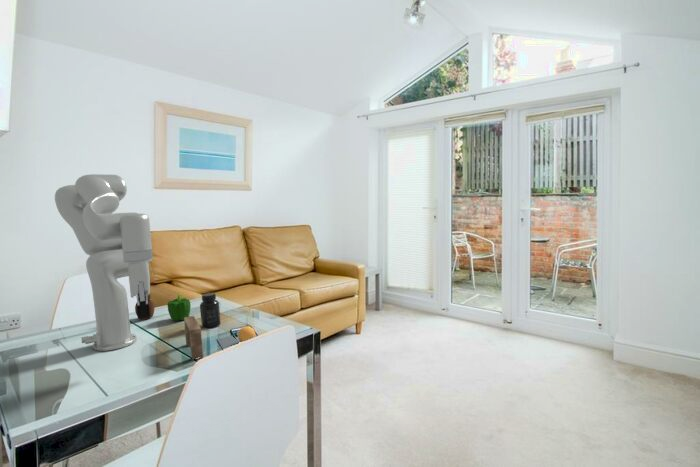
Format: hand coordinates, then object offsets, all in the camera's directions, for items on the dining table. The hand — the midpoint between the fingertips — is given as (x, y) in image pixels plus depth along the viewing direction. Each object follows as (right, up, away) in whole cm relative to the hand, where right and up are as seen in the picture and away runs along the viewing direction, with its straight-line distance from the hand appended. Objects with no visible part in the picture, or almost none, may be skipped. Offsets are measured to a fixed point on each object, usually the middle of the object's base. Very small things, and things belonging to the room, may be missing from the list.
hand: (143, 317), depth 115 cm
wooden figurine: (-22, -10, +43) cm, 49 cm away
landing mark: (+24, -11, +15) cm, 30 cm away
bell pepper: (-6, -10, +40) cm, 42 cm away
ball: (+27, -9, +12) cm, 31 cm away
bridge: (+12, -12, +8) cm, 19 cm away
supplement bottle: (+9, -10, +31) cm, 34 cm away
